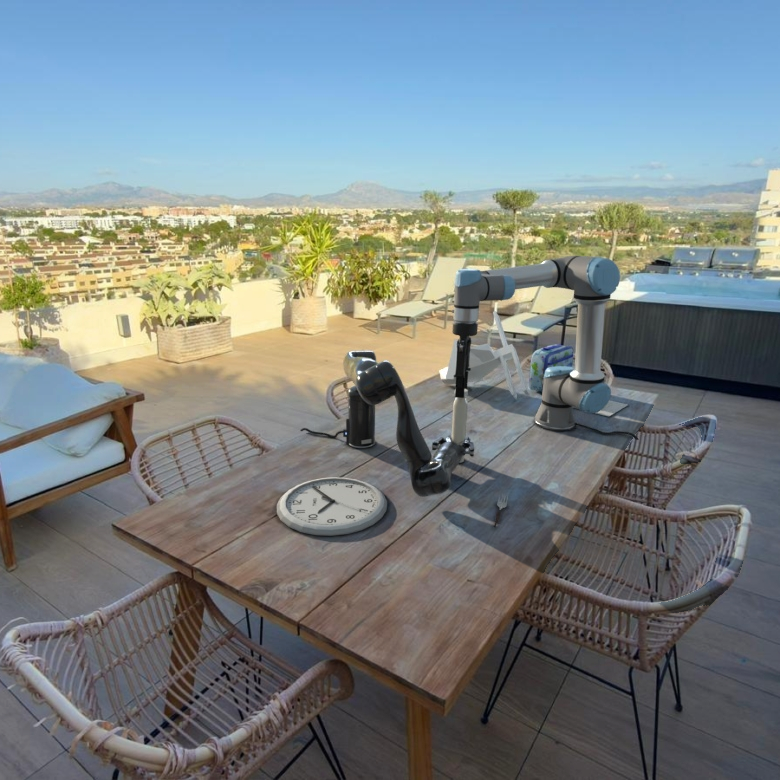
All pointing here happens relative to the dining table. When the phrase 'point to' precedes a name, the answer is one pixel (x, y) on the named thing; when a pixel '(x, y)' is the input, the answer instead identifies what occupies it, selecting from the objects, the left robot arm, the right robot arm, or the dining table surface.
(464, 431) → the bottle
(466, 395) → the cap
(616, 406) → the invitation card
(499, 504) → the fork
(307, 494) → the wall clock
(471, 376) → the white plastic object
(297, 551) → the dining table surface
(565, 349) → the lunch box
